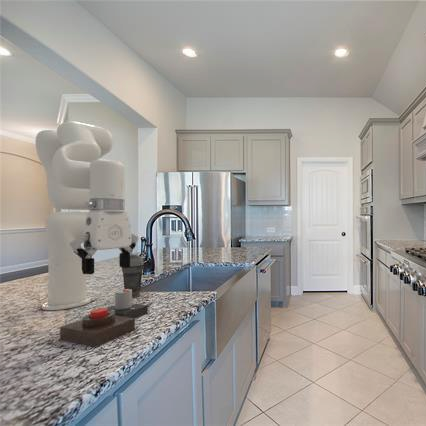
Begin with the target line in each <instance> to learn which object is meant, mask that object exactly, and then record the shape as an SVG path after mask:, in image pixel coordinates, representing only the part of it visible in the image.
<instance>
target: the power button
mask: <svg viewBox="0 0 426 426" xmlns="http://www.w3.org/2000/svg"><path fill="white" fill-rule="evenodd" d="M89 314H90V318H100V317H105V316H107V315H108V308H107V307H97V308H94V309H92V310H90V311H89Z"/></svg>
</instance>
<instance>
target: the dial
mask: <svg viewBox="0 0 426 426" xmlns="http://www.w3.org/2000/svg"><path fill="white" fill-rule="evenodd" d="M132 303H133V298H132V290H131V289H124V288H123V289H119V290H115V291H114V305H115V309H117V310H122V309H127V308H130V307H132Z"/></svg>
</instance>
